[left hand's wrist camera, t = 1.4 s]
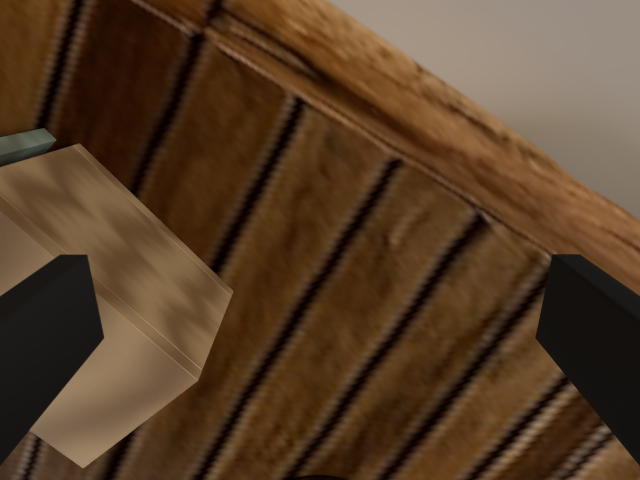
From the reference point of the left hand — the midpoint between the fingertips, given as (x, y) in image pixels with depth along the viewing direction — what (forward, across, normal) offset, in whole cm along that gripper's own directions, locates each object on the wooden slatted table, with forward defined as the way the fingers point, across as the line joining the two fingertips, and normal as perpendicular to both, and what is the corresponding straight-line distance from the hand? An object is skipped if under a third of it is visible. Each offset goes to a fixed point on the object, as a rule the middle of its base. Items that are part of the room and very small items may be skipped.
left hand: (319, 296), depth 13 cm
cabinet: (+24, +18, +9) cm, 31 cm away
